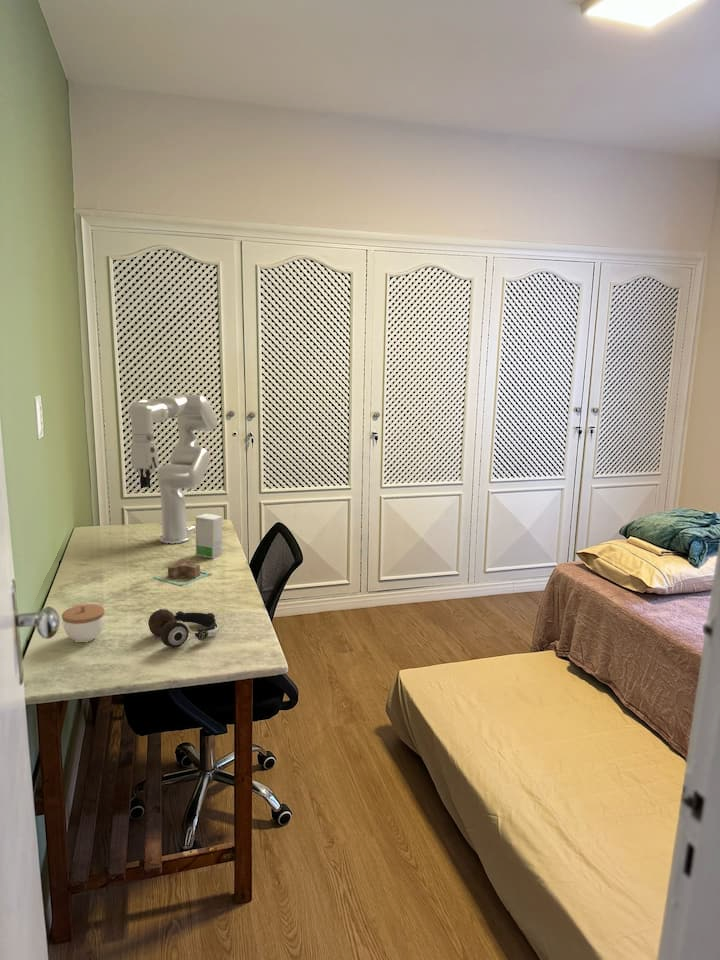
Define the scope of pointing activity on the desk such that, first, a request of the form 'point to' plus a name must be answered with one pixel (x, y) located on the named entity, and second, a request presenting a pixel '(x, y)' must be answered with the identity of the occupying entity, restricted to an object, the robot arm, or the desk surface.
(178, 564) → the tee block
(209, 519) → the skincare box
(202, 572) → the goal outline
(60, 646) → the desk surface
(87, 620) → the lidded jar
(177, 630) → the headset
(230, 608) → the desk surface
